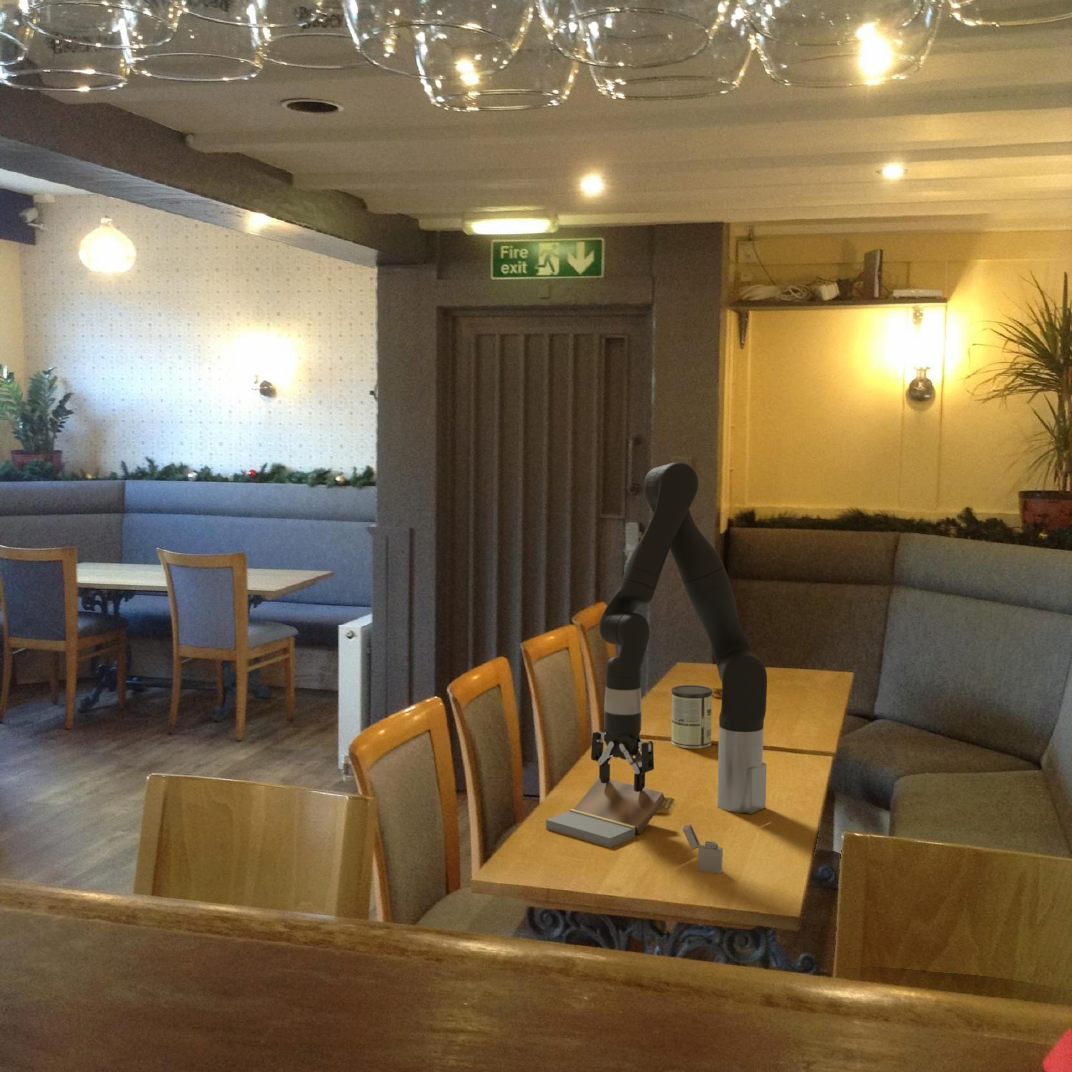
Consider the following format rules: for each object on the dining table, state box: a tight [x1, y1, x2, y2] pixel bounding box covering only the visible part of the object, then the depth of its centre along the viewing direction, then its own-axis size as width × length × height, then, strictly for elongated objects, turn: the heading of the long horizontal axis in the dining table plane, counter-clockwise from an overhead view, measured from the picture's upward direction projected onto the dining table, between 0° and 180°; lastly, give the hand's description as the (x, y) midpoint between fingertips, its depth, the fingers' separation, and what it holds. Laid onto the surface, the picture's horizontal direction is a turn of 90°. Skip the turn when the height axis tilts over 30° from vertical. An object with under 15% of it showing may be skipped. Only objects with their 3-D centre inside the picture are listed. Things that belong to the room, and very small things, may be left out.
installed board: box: [545, 808, 636, 849], centre depth 232 cm, size 16×8×2 cm, turn 49°
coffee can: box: [670, 684, 714, 750], centre depth 300 cm, size 10×10×14 cm
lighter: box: [682, 823, 724, 875], centre depth 213 cm, size 7×2×8 cm, turn 71°
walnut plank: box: [573, 777, 666, 836], centre depth 239 cm, size 16×10×2 cm
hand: (621, 786), depth 241 cm, fingers open, 8 cm apart
